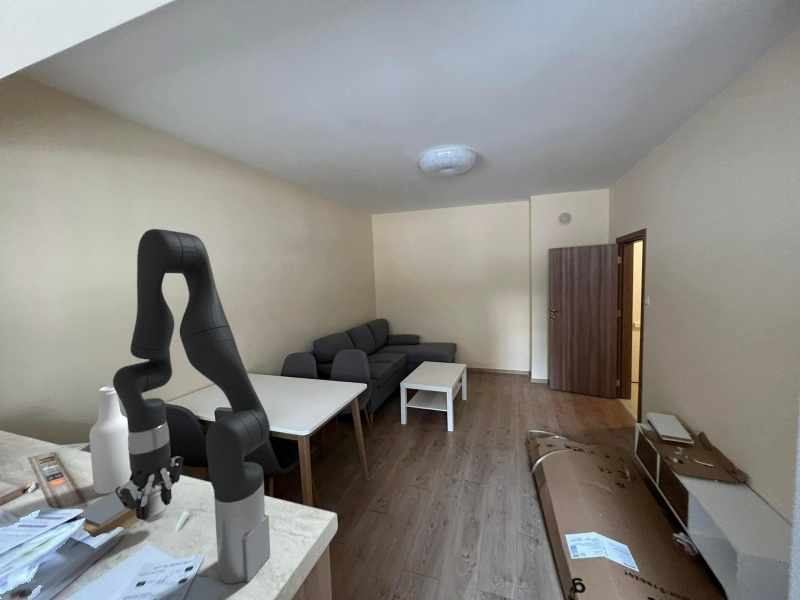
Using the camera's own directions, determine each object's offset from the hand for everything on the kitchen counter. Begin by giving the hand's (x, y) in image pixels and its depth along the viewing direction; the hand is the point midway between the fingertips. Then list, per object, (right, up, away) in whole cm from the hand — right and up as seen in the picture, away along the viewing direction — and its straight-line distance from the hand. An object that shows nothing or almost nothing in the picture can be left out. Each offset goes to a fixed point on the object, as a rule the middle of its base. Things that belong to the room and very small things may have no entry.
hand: (155, 510), depth 72 cm
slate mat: (-13, -1, +4) cm, 14 cm away
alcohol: (-26, -4, +16) cm, 31 cm away
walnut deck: (-13, -5, +5) cm, 14 cm away
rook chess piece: (0, -2, 0) cm, 2 cm away
